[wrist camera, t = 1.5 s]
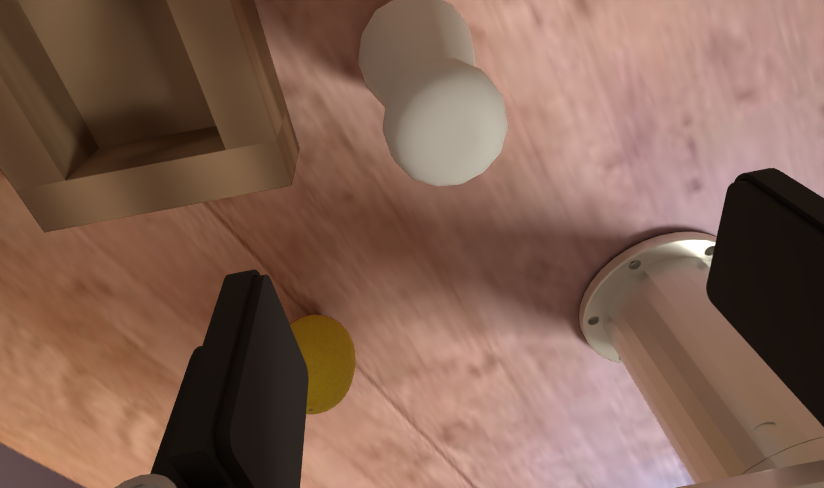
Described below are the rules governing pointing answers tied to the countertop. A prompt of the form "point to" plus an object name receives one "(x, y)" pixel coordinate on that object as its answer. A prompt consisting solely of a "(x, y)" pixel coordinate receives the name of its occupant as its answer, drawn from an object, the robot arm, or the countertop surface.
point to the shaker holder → (138, 107)
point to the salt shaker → (432, 92)
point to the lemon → (325, 360)
